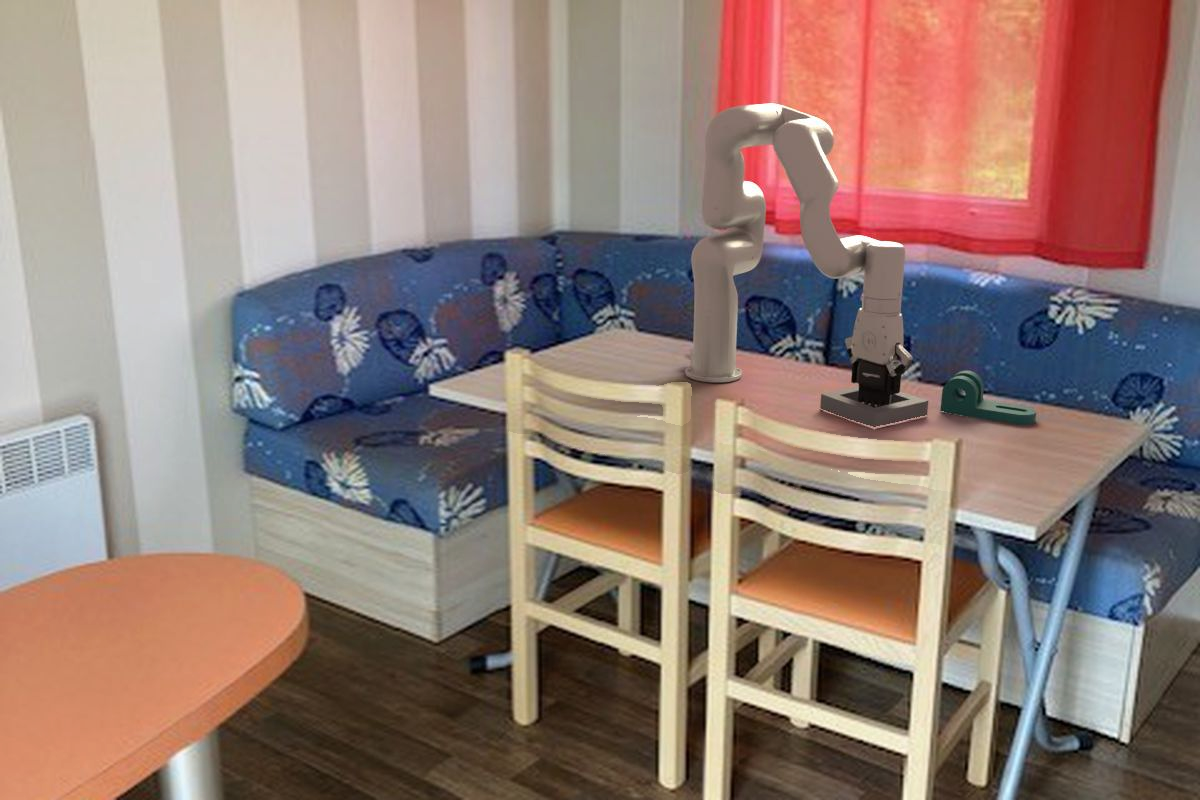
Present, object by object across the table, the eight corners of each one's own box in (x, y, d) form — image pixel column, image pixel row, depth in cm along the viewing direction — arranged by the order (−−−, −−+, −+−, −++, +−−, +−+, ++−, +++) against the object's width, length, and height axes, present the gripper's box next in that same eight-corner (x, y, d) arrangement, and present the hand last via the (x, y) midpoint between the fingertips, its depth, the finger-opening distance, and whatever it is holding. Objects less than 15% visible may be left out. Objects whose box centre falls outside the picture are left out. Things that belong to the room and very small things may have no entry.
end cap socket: (820, 410, 251) (821, 393, 250) (872, 398, 259) (873, 382, 258) (873, 430, 239) (875, 413, 238) (926, 417, 247) (928, 400, 246)
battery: (851, 412, 250) (855, 358, 246) (859, 408, 253) (863, 354, 249) (884, 419, 246) (888, 364, 242) (891, 414, 249) (896, 360, 245)
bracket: (940, 413, 250) (943, 376, 248) (948, 404, 256) (952, 368, 254) (1031, 427, 242) (1035, 389, 239) (1038, 418, 247) (1042, 381, 245)
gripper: (836, 298, 247) (831, 380, 252) (901, 316, 233) (894, 401, 238) (863, 294, 251) (857, 374, 256) (928, 311, 237) (920, 395, 242)
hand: (875, 387), depth 247 cm, fingers open, 9 cm apart
